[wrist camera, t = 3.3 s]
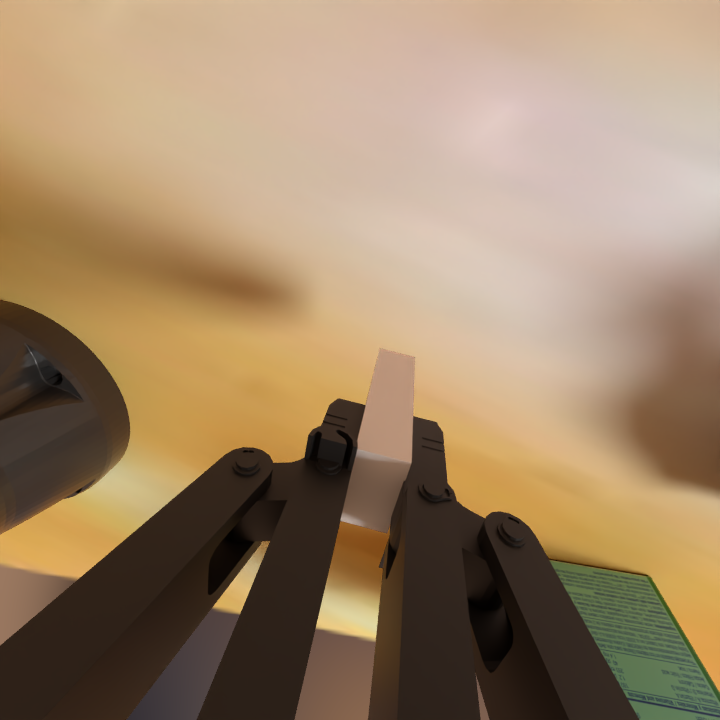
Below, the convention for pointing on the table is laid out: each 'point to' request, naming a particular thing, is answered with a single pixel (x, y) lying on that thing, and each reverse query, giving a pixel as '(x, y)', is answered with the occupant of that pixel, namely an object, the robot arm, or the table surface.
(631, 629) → the milk carton
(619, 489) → the table surface
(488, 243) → the table surface
